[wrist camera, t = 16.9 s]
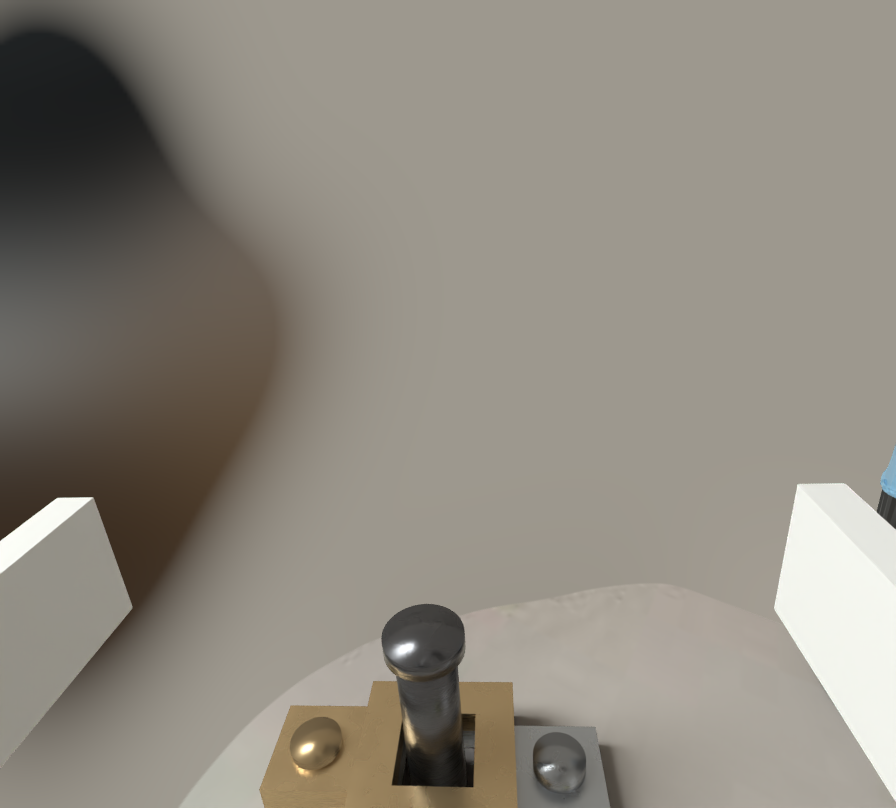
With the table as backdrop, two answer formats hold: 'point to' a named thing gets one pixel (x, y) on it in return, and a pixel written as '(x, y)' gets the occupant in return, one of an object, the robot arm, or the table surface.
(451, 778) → the black pin
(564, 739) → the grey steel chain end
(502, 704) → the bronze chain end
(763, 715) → the table surface
